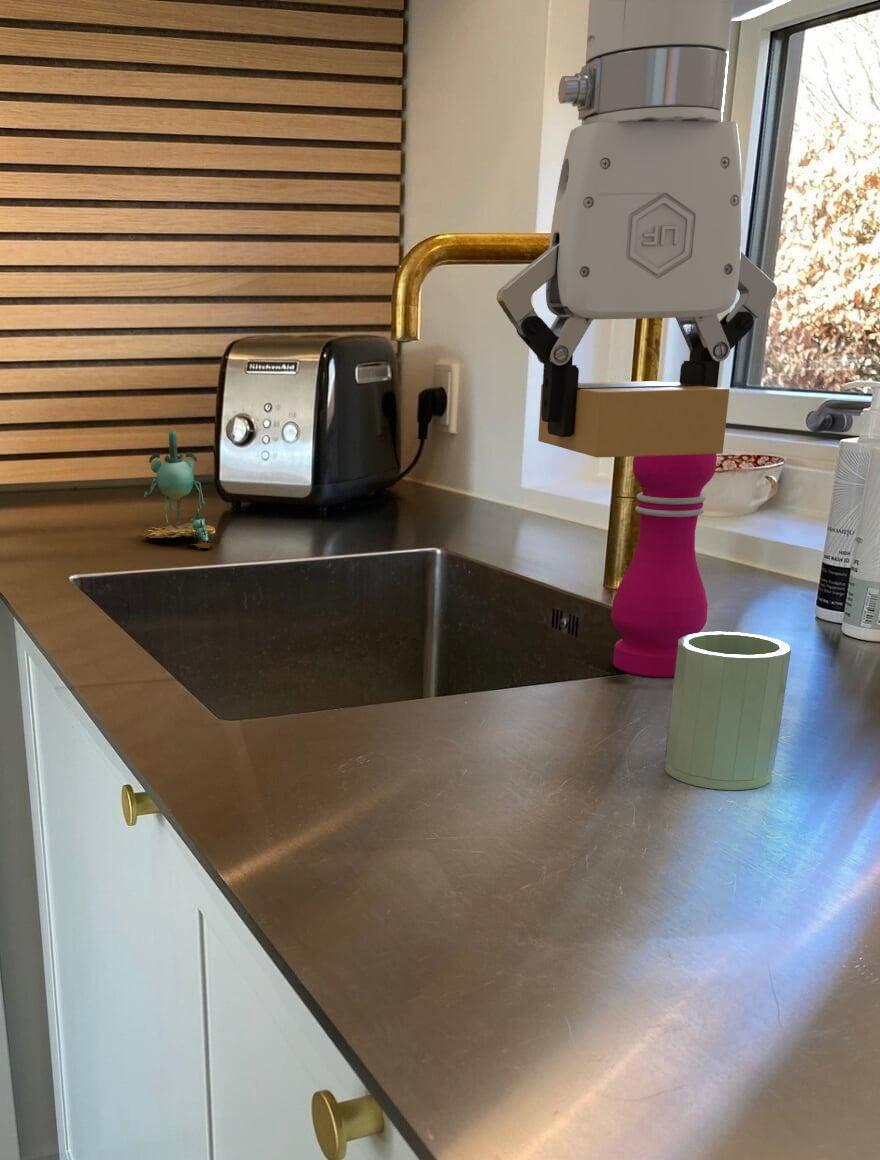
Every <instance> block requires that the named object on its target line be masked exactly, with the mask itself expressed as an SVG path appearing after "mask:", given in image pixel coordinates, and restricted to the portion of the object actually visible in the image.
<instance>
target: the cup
mask: <svg viewBox="0 0 880 1160" xmlns="http://www.w3.org/2000/svg"><path fill="white" fill-rule="evenodd" d="M791 653H792V650H791V647H790V645H789V644H788V643H785V642H783V641H782V640H779V639H777V638H772V637H768V636H764V635H760V634H751V633H744V632H731V631H728V632H727V631H708V632H699V633H697V634H691V635H686V636H684V637H682V638H680V639H678V644H677V653H676V662H675V671H674V677H673V680H672V690H671V698H670V709H669V717H668V718H669V719H668V727H667V738H666V745H665V754H664V755H665V756H664V757H665V759H664V760H665V761H664V771H665V772H666V773H667V775H668V776H670V777H671V778H673V779H675V780H677V781H678V782H679V781H680V782H682V783H685V784H688V785H691V786H696V787H700V788H704V789H713V790H720V791H721V790H722V791H743V790H753V789H757V788H761V787H764V786H766V785H767V784H769V783H770V782H771V781H772V779H773V773H774V770H775V764H776V757H777V750H778V743H779V737H780V730H781V723H782V715H783V708H784V702H785V696H786V695H785V694H786V688H787V682H788V673H789V667H790V660H791Z"/></svg>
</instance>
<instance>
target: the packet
mask: <svg viewBox="0 0 880 1160" xmlns="http://www.w3.org/2000/svg"><path fill="white" fill-rule="evenodd" d="M542 388H543V383H541V385H540V402H539V419H538V439H537V440H538V442H540V443H544V444H547V445H551V446H555V447H558V448H562V449H566V450H569V451H572V452H576V453H579V454H584V455H586V456H589V457H590V456H591V457H594V458H598V459H599V458H624V457H625V458H627V457H629V458H630V457H634V456H662V455H693V454H716V455H718V454H719V455H721V454H723V453H724V444H725V435H726V426H727V418H728V417H727V415H728V409H729V408H728V407H729V398H730V388H725V387H719V386H717V387H707V386H704V385H702V384H691V383H681V382H679V381H657V380H645V381H644V380H643V381H641V380H640V381H639V380H638V381H603V382H602V381H599V382H578V388H577V399H576V415H575V430H574V434H572V435H571V437H560V436H556V435H552V434H549V433H548V429H547V427H548V422H544V421H543V420H542V417H541V406H542Z"/></svg>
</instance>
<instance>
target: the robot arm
mask: <svg viewBox="0 0 880 1160" xmlns="http://www.w3.org/2000/svg"><path fill="white" fill-rule="evenodd" d="M790 1H791V0H589V1H588V18H587V36H586V53H585V65H584V66H582V67H581V69H580V72H576V73H575V74H574V75H562V77H561V78H560V80H559V85H558V93H557V97H558V103H559V104H561V105H562V104H563V105H564V104H565V105H568V104H569V105H570V104H571V106H572V107H576V108H577V112H578V121H581V125H578V126H576V127H575V128H574V129H572V130H570V133H569V137H568V140H567V143H566V147H565V152H564V155H563V160H562V164H561V170H560V174H559V179H558V185H557V190H556V196H555V200H554V201H555V202H554V208H553V215H552V219H551V220H552V223H551V228H550V236H549V246H548V249H546V250H545V251H544V252H542V253H541V254H540V255H539V256H538V257H537V258H535V259H534V260H533V261H531V262H530V263H529V264H528V265H527V266H526V267H524V268H523V269H522V270H521V271H520V272H518V273H517V274H516V275H515V276H513V278H511V279H510V280H509V281H508V282H507V283H506V284H504V285H503V286H502V287H500V288H499V289H498V291H497V293H496V301H497V303H498V305H499V306H500V308H501V309H502V311H503V312H504V313H505V316H506V317H507V318H508V320H509V321H510V323H511V324H512V325H513V326H514V328H515V330H516V334H517V335H518V336H519V337H520V339H522V341H523V343H525V344H526V345H527V346H528V348H529V349H530V350H531V351H532V353H534V354H535V356H536V358H537V360H538V362H539V363H540V364H542V365H543V371H542V372H543V373H542V384H543V388H542V406H541V417H542V420H543V421H544V422H548V427H547V429H548V433H549V434H552V435H556V436H560V437H571V435H572V434H574V430H575V415H576V399H577V388H578V383H579V377H580V370H579V367H577V366H578V365H577V364H573V359H574V353H575V351H576V349H577V347H578V346H579V344H581V341H582V339H583V338H584V336H585V335H586V332H587V330H588V329H589V328H590V325H591V324H592V322H593V321H594V320H637V319H641V320H642V319H675V320H676V322H677V325H678V328H679V329H680V331H681V334H682V336H683V338H684V340H685V343H686V345H687V347H688V350H689V359H688V360H683V363H681V365H680V370H679V371H680V372H679V381H678V382H681V383H691V384H702V385H704V386H707V387H719V375H720V366H721V362H723V361H725V360H726V359H727V358H728V357H730V353H731V350H732V349H733V348H734V347H735V346H737V344H738V343H739V342H740V341H741V340H742V339H743V338H744V337H745V336H746V335H747V334H748V333H749V332H750V331H751V330H752V328H753V326H754V322H755V321H756V320H757V319H758V318H759V317H760V316H761V315H762V314H763V312H764V311H765V310H766V308H767V307H768V306H769V304H770V303H771V302H773V300H774V298H775V297H776V295H777V293H778V285H777V284H776V282H775V281H774V280H772V279H771V278H770V277H769V276H768V275H767V274H766V273H765V272H763V271H762V270H761V269H760V268H759V267H758V266H757V265H756V264H755V263H754V262H753V261H752V260H750V258H749V257H747V255H745V254H744V253H743V252H742V235H743V234H742V231H743V229H742V228H743V179H742V178H743V175H742V174H743V173H742V157H741V145H740V137H739V127H738V122H736V121H729V120H728V121H727V120H726V121H723V116H724V115H723V114H724V113H723V112H724V106H725V96H726V95H725V94H726V86H727V76H728V66H729V55H730V54H729V53H730V42H731V34H732V23H733V21H734V22H736V21H745V20H749V19H752V18H756V17H757V16H760V15H762V14H764V13H767V12H768V11H771V10H772V9H775V8H777V7H779V6H781V5H784V4H785V3H788V2H790ZM544 285H545V302H546V307H547V309H548V310H549V312H550V313H552V314H553V315H555V316H556V317H555V319H554V321H553V323H552V324H551V326H550V327H549V326H548V325H547V323H546V322H545V321H544V320H543V318H541V317H540V316H539V315H538V314H537V312H536V310H535V308H534V306H533V305H532V300H531V298H532V296H533V295H534V294H535V292H537V291H538V290H539V289H540V288H541V287H542V286H544ZM738 292H739V298H738V300H737V301H736V303H735V300H736V297H737V293H738ZM734 303H735V304H734ZM733 305H734V307H732V306H733ZM731 307H732V310H730V312H728V313H726V314H725V315H724V316H723V317H722V318H721V319H719V317H718V315H719V314H721V313H724V312H725V311H727V310H729V309H730V308H731Z"/></svg>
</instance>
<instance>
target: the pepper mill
mask: <svg viewBox="0 0 880 1160" xmlns="http://www.w3.org/2000/svg"><path fill="white" fill-rule="evenodd" d="M716 468H717V454H693V455H662V456H633V461H632V472H633V477H634V478H635V480H636V481H637V482H638V484H639V485H640V487H641V490H642V491H641V492H639V493H637V494H636V499H637V503H636V504H637V505H636V506H635V512H637V513H638V514H639V515H640V516H639V532H638V533H639V534H638V538H637V543H636V547H635V551H634V553H633V556H632V559H631V561H630V563H629V565H628V568H627V569H626V571H625V573H624V575H623V577H622V579H621V581H620V583H619V585H618V586H617V589H616V592H615V595H614V597H613V600H612V606H611V612H610V619H611V622H612V624H613V625H614V627H615V629H616V630H617V631H618V632H619V634H620V635H621V636H622V638H621V639H619V640H618V641H616V642H615V644H614V649H613V659H612V660H613V661H612V665H613V667H614V668H616V669H618V670H619V671H621V672H624V673H627V674H630V675H635V676H641V677H651V678H674V671H675V662H676V653H677V644H678V639H680V638H682V637H684V636H686V635H691V634H697V633H701V631H702V630H703V628H704V627H705V625H706V624H707V620H708V598H707V593H706V589H705V586H704V582H703V579H702V576H701V572H700V570H699V569H700V568H699V567H698V561H697V556H696V555H697V554H696V530H697V525H698V517H699V516H701V515H703V514H704V512H705V508H704V507H703V506H704V502H705V501H706V499H707V498H706V496H705V495H704V494H703V493H702V491H703V490H704V488H705V486H706V485H707V484H708V483H709V482H710V481H711V480H712V478H713V477H714V476H715V473H716V470H717V469H716Z"/></svg>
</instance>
